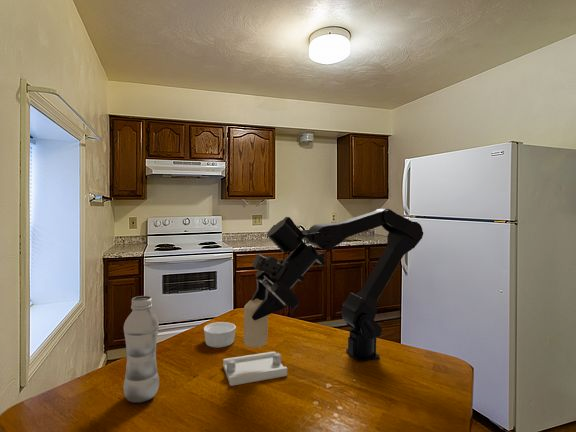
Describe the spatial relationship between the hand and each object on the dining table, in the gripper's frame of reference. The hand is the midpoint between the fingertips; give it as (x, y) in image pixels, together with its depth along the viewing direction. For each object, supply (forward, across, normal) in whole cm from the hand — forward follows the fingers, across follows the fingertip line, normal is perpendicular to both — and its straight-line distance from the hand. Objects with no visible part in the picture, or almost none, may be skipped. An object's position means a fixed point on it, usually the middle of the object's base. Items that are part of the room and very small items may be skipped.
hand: (250, 314), depth 76 cm
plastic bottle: (+26, +4, -7) cm, 27 cm away
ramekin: (+13, -19, +6) cm, 24 cm away
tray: (+9, 0, +10) cm, 13 cm away
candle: (+4, 0, +6) cm, 7 cm away
